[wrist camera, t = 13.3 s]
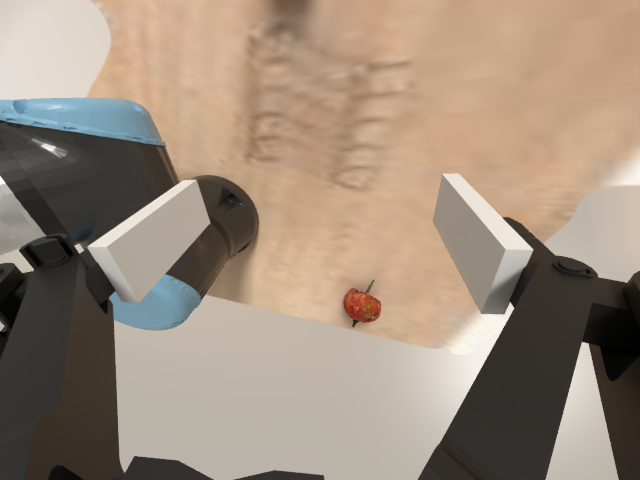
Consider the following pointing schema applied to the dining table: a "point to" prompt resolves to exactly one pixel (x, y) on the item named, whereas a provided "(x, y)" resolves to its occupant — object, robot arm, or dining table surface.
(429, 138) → the dining table surface
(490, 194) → the dining table surface
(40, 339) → the robot arm
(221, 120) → the dining table surface
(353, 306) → the red fruit with stem
